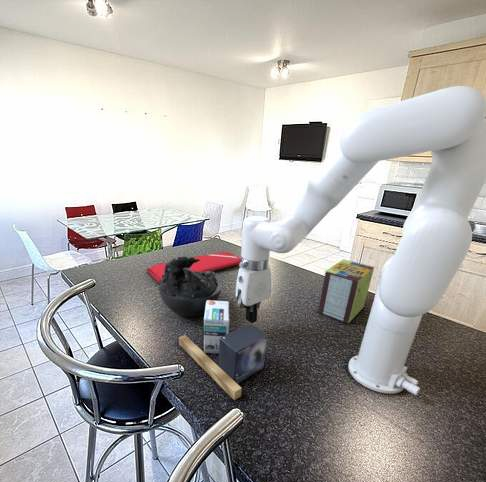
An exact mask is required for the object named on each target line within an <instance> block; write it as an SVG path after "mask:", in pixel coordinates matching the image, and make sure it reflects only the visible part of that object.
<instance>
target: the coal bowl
mask: <svg viewBox="0 0 486 482" xmlns="http://www.w3.org/2000/svg"><path fill="white" fill-rule="evenodd" d="M194 257H195V256H190V257H188V256H186V255H185V256H178V257H177V258H172V259H171V260H170V261H168V263H167V262H166V263H167V264H166V265H165V270H164V274H163V275H162V280H161V283H159V285H158V292H159V295H160V299H161V300H162V302H163V304H164V305H165V306H166V308H168V309H169V310H170V311H172V312H173V313H175V314H177V315H180V316H182V317H183V316H184V317H198V316H200V315H201V316H202V315H203V314H205V307H206V301H207V300H212V301H219V297H220V295H221V292H222V285H221V282H220V281H219V280H218V278H217V275H216V272H215V271H214V270H213V269H211V270H210V271H205V272H197V271H191V270H190V269H189V268H190V267H191V266H192V265H193V263H196V262H198V261H200V260H199V259H195V258H194Z"/></svg>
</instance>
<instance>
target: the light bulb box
mask: <svg viewBox="0 0 486 482" xmlns="http://www.w3.org/2000/svg"><path fill="white" fill-rule="evenodd" d="M229 333H230V301H227V300H217V301H212V300H207V301H206V307H205V313H204V317H203V352H204V353H205V354H216V355H217V354H218V355H219V338H220V337H222V336H224V335H227V334H229Z"/></svg>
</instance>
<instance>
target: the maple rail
mask: <svg viewBox="0 0 486 482" xmlns="http://www.w3.org/2000/svg"><path fill="white" fill-rule="evenodd" d="M178 343H179V344H178V345H179V346H180V347H181V348H182V349H183V350H184V351H185V352H186V353H187V354H188V355H189V356H190V358H192V359H193V360H194V361H195V362H196V363H197V364H198V365H199V366H200V367H201V369H203V371H204V372H205V373H206V374H208V376H209V377H211V379H213V380H214V382H215V383H216V384H217V385H218V386H219V387H220V388H221V389H222V390H223V391H224V392H225V393H226V394H227V395H228V396H229V397H230V398H231V399H232V400H233V401H236V400H237V399H239V398H241V397H242V392H243V391H242V390H243V388H242V387H241V386H240V385H239V383H238V384H237V383H236V382H235V381H234V380H233V379H232V378H230V377H229V376H228V375H227V374H226V373H225V372H224V371H223V370H222V369H221V368H220V367H219V366H218V363H216V362H215V361H214V360H213V359H211V358H210V357H209V356H208V355H207V353H204V350H202V349H201V348H200V347H199V346H198V345H197V344H196V343H194V342H193V341H192V340H191V339H190V337H188V336H187V335H186V334H184V335H181V336H179V337H178Z"/></svg>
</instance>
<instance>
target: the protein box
mask: <svg viewBox="0 0 486 482" xmlns="http://www.w3.org/2000/svg"><path fill="white" fill-rule="evenodd" d="M374 269H375V267H374V266H372V265H367V264H364V263H360V262H357V261H352V260H348V259H344V258H343V259H341V260H340V261H338V262H337V263H335V264H334V265H333V266H331V267H329V268H328V269H327V270H325V272H324V278H323V283H322V289H321V294H320V300H319V305H318V311H317V313H319V314H321V315H325V316H326V317H330V318H333V319H335V320H337V321H339V322H342V323H345V324H346V325H347V324H349V323H351V321H352V320H353V319H354V318H355V317H356V316H357V315H358V314H359V313H360V312H361V310H362V309H363V308H364V307H365V304H366V299H367V296H368V293H369V289H370V285H371V281H372V277H373V273H374Z"/></svg>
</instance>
